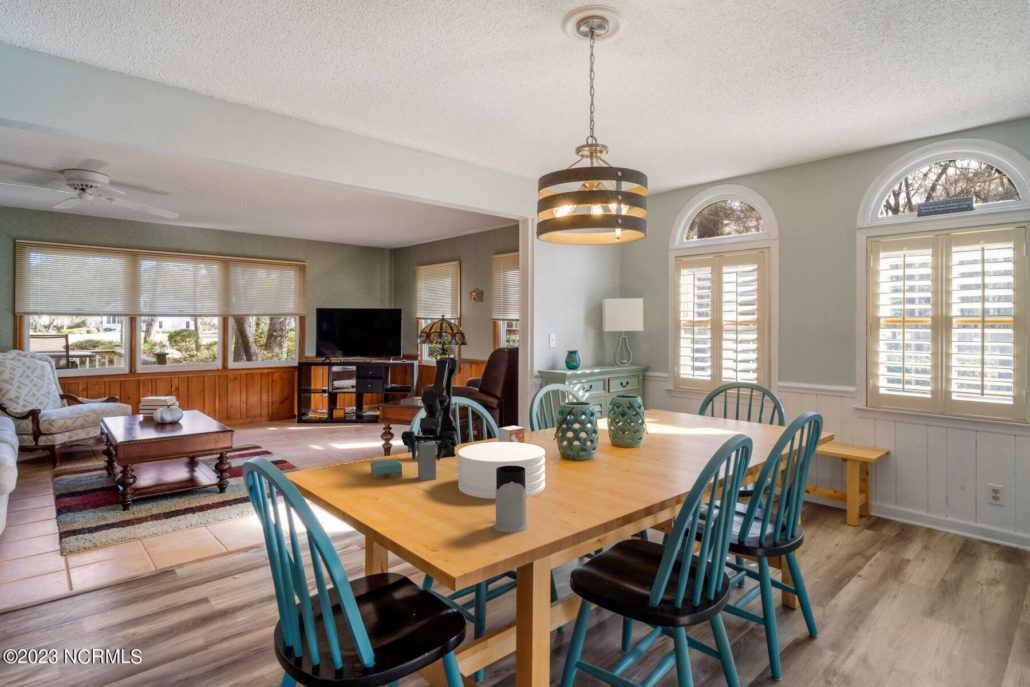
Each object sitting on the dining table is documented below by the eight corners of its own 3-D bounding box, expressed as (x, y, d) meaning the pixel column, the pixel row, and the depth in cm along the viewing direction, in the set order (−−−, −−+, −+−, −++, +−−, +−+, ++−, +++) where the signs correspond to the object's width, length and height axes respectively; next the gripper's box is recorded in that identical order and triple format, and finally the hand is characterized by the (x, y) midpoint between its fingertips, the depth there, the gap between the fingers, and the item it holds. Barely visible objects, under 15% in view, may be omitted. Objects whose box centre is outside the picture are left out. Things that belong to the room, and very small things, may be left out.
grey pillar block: (432, 475, 197) (431, 441, 196) (436, 479, 192) (435, 444, 192) (418, 477, 195) (417, 442, 194) (421, 481, 190) (420, 445, 190)
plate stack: (489, 470, 204) (489, 438, 203) (559, 481, 189) (559, 447, 189) (440, 490, 180) (440, 454, 179) (517, 505, 165) (516, 465, 165)
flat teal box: (396, 472, 204) (396, 465, 204) (402, 478, 196) (401, 471, 196) (371, 474, 201) (371, 468, 201) (375, 481, 192) (375, 474, 192)
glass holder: (494, 533, 143) (494, 474, 142) (492, 514, 157) (492, 460, 156) (529, 532, 143) (529, 473, 143) (524, 513, 158) (523, 459, 157)
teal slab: (396, 465, 204) (396, 458, 204) (401, 471, 196) (401, 464, 196) (370, 468, 200) (370, 461, 200) (375, 474, 192) (375, 467, 192)
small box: (509, 465, 211) (509, 430, 210) (498, 462, 216) (497, 427, 215) (525, 461, 217) (524, 427, 216) (513, 458, 221) (513, 425, 221)
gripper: (402, 407, 197) (393, 446, 187) (455, 408, 196) (449, 447, 185) (408, 426, 205) (400, 464, 195) (459, 427, 204) (454, 465, 193)
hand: (425, 460), depth 192 cm, fingers open, 8 cm apart
